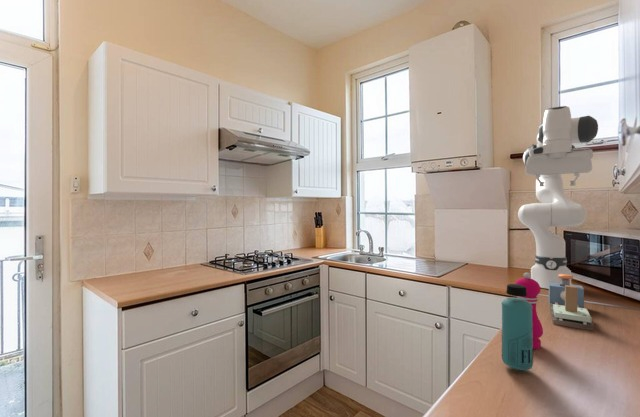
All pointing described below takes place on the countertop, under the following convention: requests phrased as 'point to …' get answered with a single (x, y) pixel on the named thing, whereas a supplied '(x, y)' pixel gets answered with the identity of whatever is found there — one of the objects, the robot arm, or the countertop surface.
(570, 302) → the carriage
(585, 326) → the track
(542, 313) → the countertop surface
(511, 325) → the beverage bottle
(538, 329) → the pepper mill
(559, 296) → the blue side pieces
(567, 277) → the orange rounded knob
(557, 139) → the robot arm
